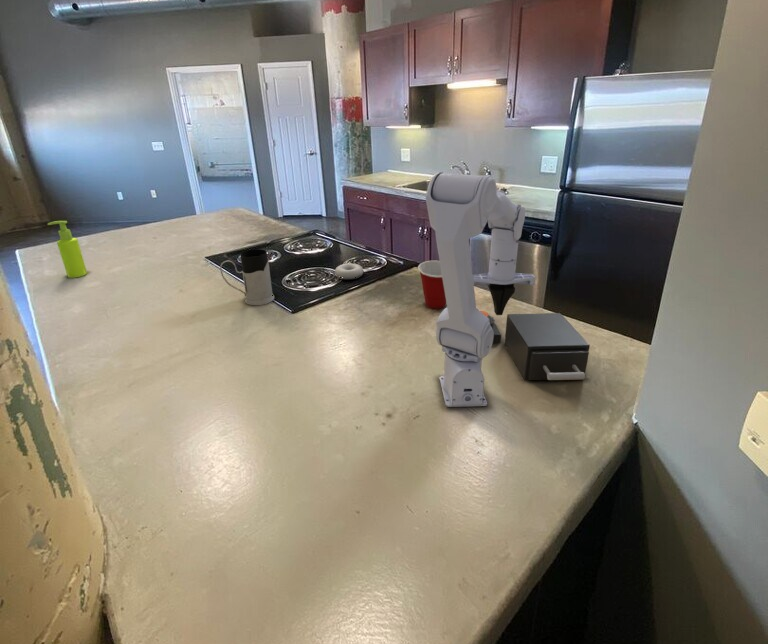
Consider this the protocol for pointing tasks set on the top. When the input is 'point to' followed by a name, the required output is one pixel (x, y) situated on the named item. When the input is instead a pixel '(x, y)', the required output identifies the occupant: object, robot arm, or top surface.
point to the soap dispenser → (70, 252)
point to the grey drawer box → (539, 336)
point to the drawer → (558, 364)
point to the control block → (495, 330)
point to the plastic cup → (432, 284)
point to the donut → (349, 271)
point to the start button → (484, 313)
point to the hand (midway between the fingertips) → (498, 313)
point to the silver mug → (255, 277)
